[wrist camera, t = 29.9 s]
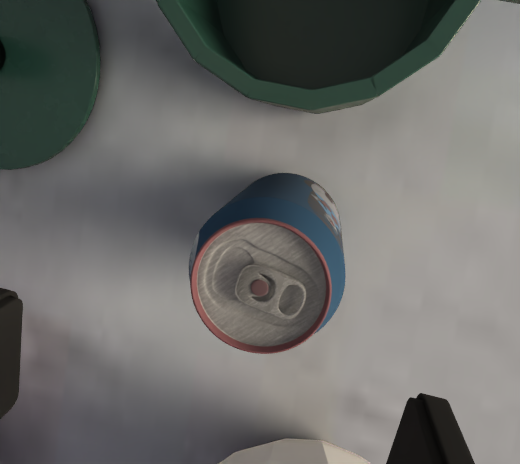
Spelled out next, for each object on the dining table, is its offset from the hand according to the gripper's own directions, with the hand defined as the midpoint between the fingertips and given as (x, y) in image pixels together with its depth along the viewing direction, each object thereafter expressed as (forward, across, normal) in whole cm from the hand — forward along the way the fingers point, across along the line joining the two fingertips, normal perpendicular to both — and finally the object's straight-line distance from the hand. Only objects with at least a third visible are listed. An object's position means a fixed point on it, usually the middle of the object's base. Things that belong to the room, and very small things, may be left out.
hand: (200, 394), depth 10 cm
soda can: (+20, 0, +1) cm, 20 cm away
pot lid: (+20, +20, -6) cm, 29 cm away
